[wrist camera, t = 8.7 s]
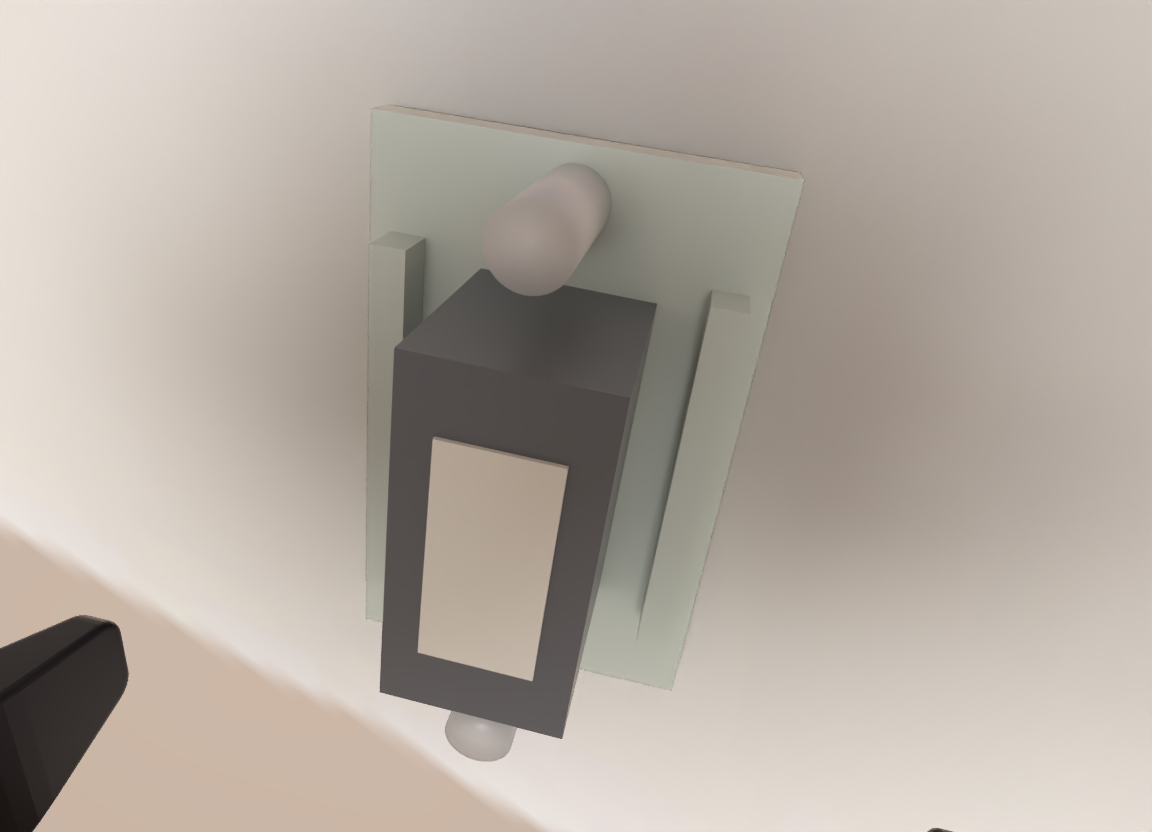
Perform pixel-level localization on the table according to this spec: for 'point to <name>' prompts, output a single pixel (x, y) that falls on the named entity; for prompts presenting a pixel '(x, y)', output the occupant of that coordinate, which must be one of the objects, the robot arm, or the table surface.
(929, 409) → the table surface
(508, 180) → the pegged rail plate
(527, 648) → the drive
